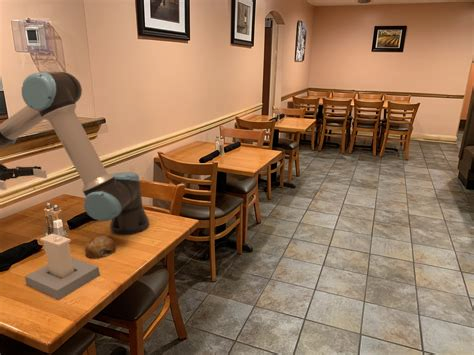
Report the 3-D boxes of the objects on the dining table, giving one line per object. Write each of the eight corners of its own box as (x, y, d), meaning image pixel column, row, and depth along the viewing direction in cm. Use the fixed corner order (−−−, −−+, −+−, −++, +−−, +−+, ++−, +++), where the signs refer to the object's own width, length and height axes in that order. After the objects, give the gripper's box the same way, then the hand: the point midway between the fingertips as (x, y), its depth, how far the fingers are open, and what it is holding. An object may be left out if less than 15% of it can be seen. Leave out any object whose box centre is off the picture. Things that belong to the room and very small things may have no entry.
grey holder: (67, 263, 119) (66, 255, 118) (99, 275, 111) (98, 266, 110) (26, 284, 108) (24, 276, 107) (58, 299, 100) (57, 290, 99)
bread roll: (95, 269, 122) (99, 253, 118) (76, 252, 125) (79, 235, 121) (118, 256, 130) (122, 241, 126) (100, 240, 133) (103, 224, 129)
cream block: (60, 273, 113) (51, 231, 109) (78, 280, 109) (70, 236, 105) (48, 279, 110) (39, 236, 106) (66, 287, 106) (57, 242, 101)
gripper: (28, 173, 139) (62, 180, 129) (-45, 193, 119) (-13, 202, 108) (24, 155, 137) (58, 160, 126) (-51, 171, 116) (-19, 179, 106)
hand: (25, 179), depth 117 cm, fingers open, 13 cm apart
